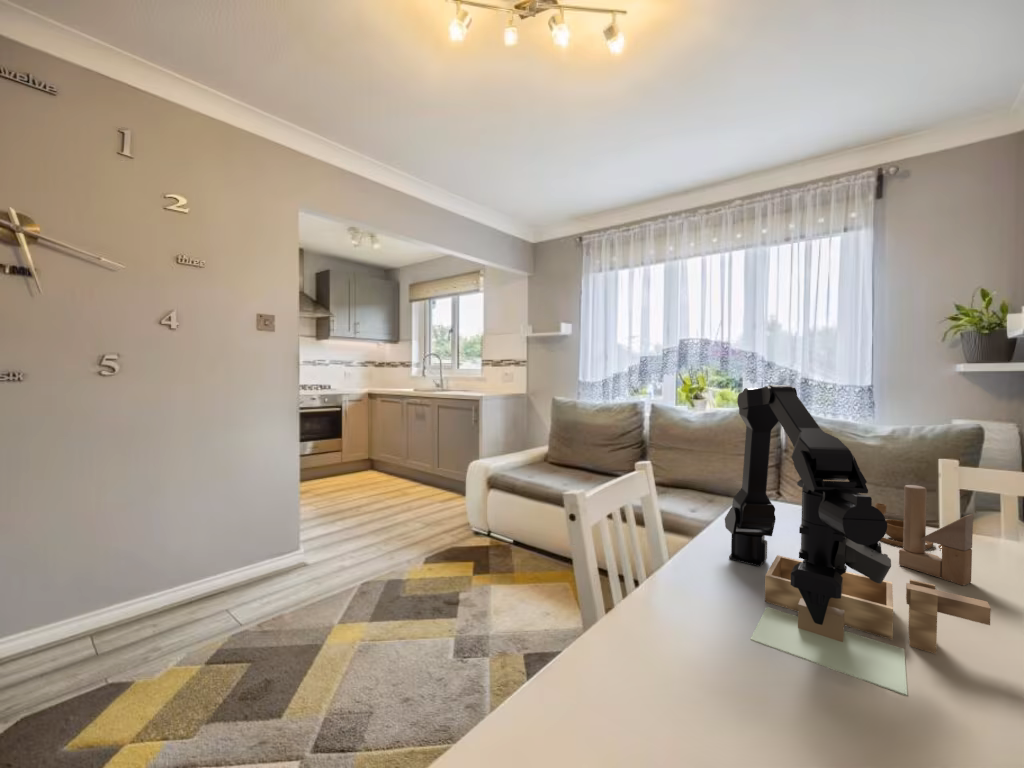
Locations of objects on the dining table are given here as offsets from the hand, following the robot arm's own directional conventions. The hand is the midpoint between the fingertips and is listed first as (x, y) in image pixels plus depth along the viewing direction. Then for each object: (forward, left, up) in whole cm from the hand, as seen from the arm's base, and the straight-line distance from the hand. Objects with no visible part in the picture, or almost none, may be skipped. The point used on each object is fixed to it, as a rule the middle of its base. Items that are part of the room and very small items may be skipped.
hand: (820, 615), depth 71 cm
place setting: (+12, +67, -4) cm, 68 cm away
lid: (+1, -3, -4) cm, 5 cm away
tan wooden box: (+2, +11, -3) cm, 12 cm away
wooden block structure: (+16, +42, -3) cm, 46 cm away
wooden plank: (+15, +8, +3) cm, 17 cm away
